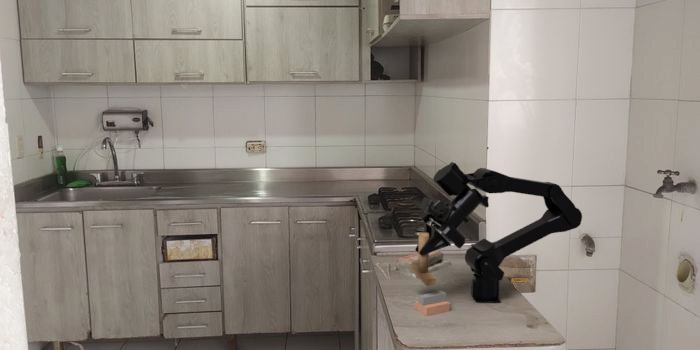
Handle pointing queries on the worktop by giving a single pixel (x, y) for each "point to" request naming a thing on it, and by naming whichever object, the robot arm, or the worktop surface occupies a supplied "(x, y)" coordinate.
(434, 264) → the packaged product
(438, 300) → the fulcrum stand
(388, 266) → the pair of ivory hairpins
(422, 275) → the wooden stamp
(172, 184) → the worktop surface
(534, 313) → the worktop surface
